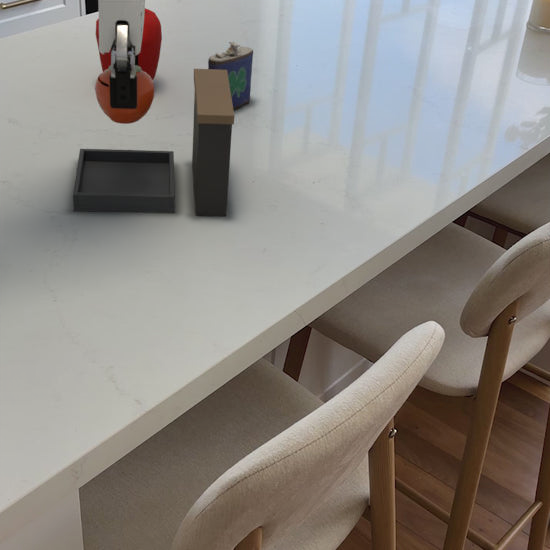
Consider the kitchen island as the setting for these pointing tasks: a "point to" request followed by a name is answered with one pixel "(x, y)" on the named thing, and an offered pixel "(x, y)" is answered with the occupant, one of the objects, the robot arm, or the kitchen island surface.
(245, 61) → the flask
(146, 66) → the apple
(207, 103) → the tower
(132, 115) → the tomato
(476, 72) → the kitchen island surface
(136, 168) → the pan
